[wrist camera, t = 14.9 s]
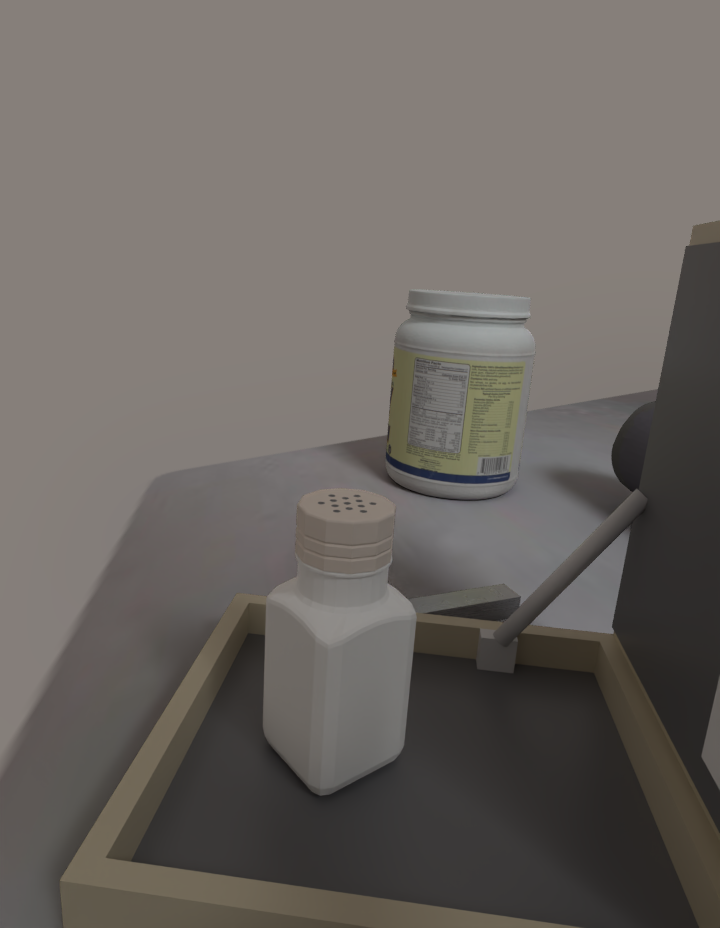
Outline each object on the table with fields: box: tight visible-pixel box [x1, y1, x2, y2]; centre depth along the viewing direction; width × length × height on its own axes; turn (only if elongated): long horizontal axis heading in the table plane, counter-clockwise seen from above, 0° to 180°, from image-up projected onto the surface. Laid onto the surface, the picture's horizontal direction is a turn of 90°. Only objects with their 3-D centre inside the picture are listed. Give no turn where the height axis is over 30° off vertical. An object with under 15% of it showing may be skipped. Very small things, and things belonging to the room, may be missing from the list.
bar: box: [408, 584, 521, 621], centre depth 35 cm, size 12×2×2 cm, turn 114°
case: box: [59, 221, 720, 928], centre depth 21 cm, size 16×18×20 cm
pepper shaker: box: [263, 488, 417, 796], centre depth 22 cm, size 4×4×10 cm
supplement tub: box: [385, 290, 536, 500], centre depth 58 cm, size 12×12×17 cm
